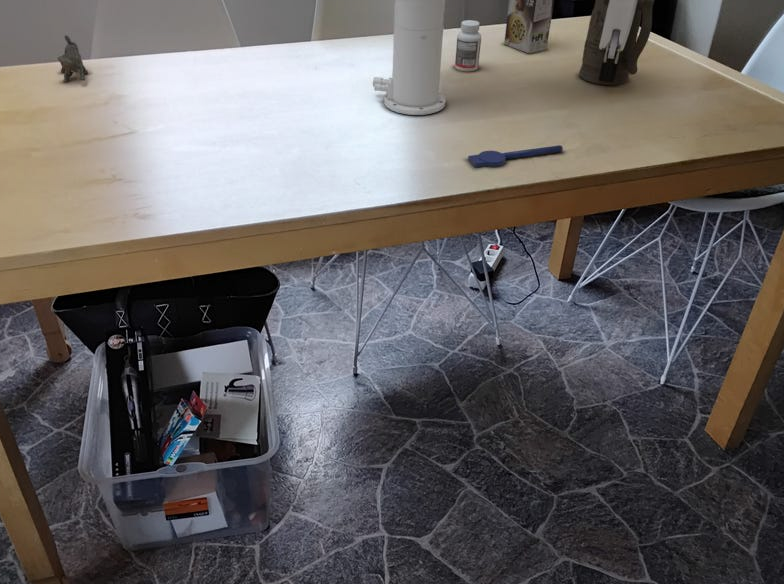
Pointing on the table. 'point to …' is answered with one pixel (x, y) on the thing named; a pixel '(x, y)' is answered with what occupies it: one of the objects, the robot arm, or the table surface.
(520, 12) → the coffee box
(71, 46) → the dog figurine
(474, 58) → the pill bottle
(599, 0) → the beer stein
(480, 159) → the spoon
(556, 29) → the table surface
